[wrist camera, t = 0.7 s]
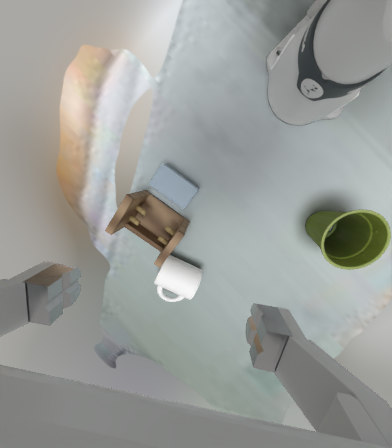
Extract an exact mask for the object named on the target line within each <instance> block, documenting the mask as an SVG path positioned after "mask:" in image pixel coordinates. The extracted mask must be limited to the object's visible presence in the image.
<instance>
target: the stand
mask: <svg viewBox="0 0 392 448" xmlns="http://www.w3.org/2000/svg"><path fill="white" fill-rule="evenodd" d="M189 222H190V221H188V220H187V219H185V218H184V217H183V216H181V215H180V214H178V213H177V212H176V211H174V210H173V209H171V208H170V207H169V206H167V205H166V204H164V203H163V202H162V201H160V200H159V199H157V198H156V197H155V196H153V195H152V194H150V193H149V192H148V191H146V190H145V191H140V192H136V193H132V194H127V195H126V196H125V198H124V200H123V201H122V203H121V205H120V206H119V208H118V210H117V211H116V213H115V215H114V216H113V218H112V220H111V221H110V223H109V225H108V226H107V228H106V230H105V231H106V232H108V233H109V234H111V235H112V234H113V233H115V232H117V231H118V230H120V229H122V228H123V227H125V228H127V229H128V230H130V231H131V232H133V233H134V234H136V235H137V236H139V237H140V238H142V239H143V240H144V241H146V242H147V243H149V244H150V245H152V246H153V247H155V248H156V249H158V250H159V251H161V253H160V255H159V256H158V258H157V259H156V261H155V263H154V264H155V265H157V266H158V267H161V265H162V264H163V263H164V261H165V260H166V259H167V257H168V256H169V255H170V253H171V252H172V251H173V249H174V248H175V247H176V245H177V244H178V243H179V241H180V240H181V239H182V237H183V236H184V234H185V232H186V229H187V227H188V225H189Z"/></svg>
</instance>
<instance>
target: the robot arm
mask: <svg viewBox="0 0 392 448" xmlns="http://www.w3.org/2000/svg"><path fill="white" fill-rule="evenodd" d="M276 53H279V54H280V55H277V54H276ZM266 65H267V69H268V73H269V82H268V100H269V103H270V106H271V108H272V110H273V112H274V113H275V115H276V116H277V117H278V118H279V119H281V120H282V121H284V122H286V123H288V124H292V125H305V124H309V123H312V122H314V121H316V120H320V119H334V118H336V117H337V116H339V115H340V113H341V112H342V110H343V109H344V107H345V105H346V104H348V103H349V102H351V101H352V100H354V99H355V98H357V97H358V96H359V94H360V93H359V92H360V91H361V89H362V88H363V86H365V85H367V84H368V83H369V82H371V81H372V80H373V79H375V78H376V77H377V76H378V75H380V74H381V73H382V72H383V71H384V70H385V69H386V68H387V67H389V66H390V65H392V0H315V2H314V3H313V4H312V5H311V7H310V8H309V10H308V11H307V15H306V16H305V17H304V18H303V19H302V20H301V21H300V22H299V23H298V24H297V25H296V26H295V27H294V28H293V29H292V30H291V31H290V32H289V34H288V35H287V36H286V37H285V38H284V39H283V40H282V41H281V42H280V43H279V44H278V45H277V46H276V47H275V48H274V49H273V50H272V51H271V52H270V54H269V55H268V57H267V59H266ZM80 277H81V271H80V270H79V268H75V267H71V266H66V265H62V264H57V263H53V262H42V263H40V264H38V265H36V266H34V267H32V268H30V269H28V270H26V271H25V272H23V273H21V274H19V275H17V276H15V277H13V278H11V279H9V280H8V279H2V280H0V337H1V336H3V335H5V334H7V333H9V332H11V331H13V330H15V329H17V328H19V327H21V326H24V325H26V324H28V322H32V323H38V324H43V325H51V324H52V323H53V322H54V321H55V320H56V319H57V318H58V317H59V316H60V315H62V313H63V309H64V308H67V307H69V306H71V305H72V304H73V303H74V302H75V301H76V299H77V298H78V296H79V294H80V290H81V285H80V283H79V282H78V279H79V278H80ZM250 311H251V314H252V316H251V317H249V318H248V320H247V323H246V338H247V342H248V343H249V344H250V346H251V348H250V351H249V352H250V356H251V360H252V364H253V368H258V369H262V370H266V371H270V372H274V373H275V375H276V376H277V378H278V379H279V381H280V382H281V383H282V385H283V386H284V387H285V389H286V390H287V392H288V393H289V394H290V396H291V397H292V398H293V400H294V401H295V402H296V404H297V405H298V406H299V408H300V409H301V411H302V412H303V413H304V415H305V416H306V418H307V419H308V420H309V422H310V423H311V424H312V426H313V427H314V429H315V430H316V432H315V431H310V430H306V429H301V428H296V427H291V426H287V425H282V424H277V423H273V422H268V421H263V420H258V419H254V418H249V417H244V416H240V415H235V414H230V413H225V412H221V411H216V410H211V409H206V408H201V407H197V406H192V405H187V404H183V403H178V402H173V401H168V400H164V399H159V398H154V397H149V396H145V395H140V394H135V393H130V392H125V391H121V390H116V389H112V388H107V387H102V386H98V385H92V384H88V383H83V382H79V381H74V380H69V379H64V378H60V377H55V376H50V375H46V374H41V373H36V372H31V371H26V370H22V369H17V368H12V367H8V366H3V365H0V448H392V408H391V407H390V406H389V404H388V403H387V402H386V401H385V400H384V399H383V398H381V397H380V396H379V395H378V394H376V393H375V392H374V391H373V390H372V389H370V388H369V387H368V386H366V385H365V384H364V383H363V382H361V381H360V380H359V379H358V378H357V377H355V376H354V375H353V374H352V373H350V372H349V371H348V370H347V369H346V368H344V367H343V366H342V365H341V364H339V363H338V362H337V361H336V360H334V359H333V358H332V357H331V356H329V355H328V354H327V353H326V352H324V351H323V350H322V349H321V348H320V347H318V346H317V345H316V344H315V343H313V342H312V341H311V340H307V339H306V337H305V336H304V334H303V332H302V331H301V329H300V327H299V326H298V324H297V322H296V321H295V319H294V318H293V316H292V314H291V313H290V311H289V310H288V309H285V308H279V307H272V306H266V305H261V304H255V303H253V305H252V307H251V310H250Z"/></svg>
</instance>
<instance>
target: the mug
mask: <svg viewBox="0 0 392 448" xmlns="http://www.w3.org/2000/svg"><path fill="white" fill-rule="evenodd" d="M202 274H203V271H202V270H201V269H199V268H197V267H195V266H193V265H191V264H188V263H186V262H184V261H182V260H180V259H178V258H176V257H173V256H171V255H169V256H168V257H167V259H166V260H165V261H164V263H163V265H162V267H161V269H160V271H159V273H158V275H157V277H156V279H155V282H154V284H156V285H158V286H157V292H158V294H159V296H160V297H161V298H162V299H164V300H166V301H169V302H177V301H180V300H182V299H183V298H184V297H185V298H187V299H189V300H190V299H192V298H193V296H194V295H195V293H196V291H197V289H198V287H199V284H200V281H201V278H202ZM163 288H165V289H167V290H169V291H171V292H174V293H176V294H178V295H179V296H177V297H169V296H167V295H165V294H163Z"/></svg>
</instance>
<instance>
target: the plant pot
mask: <svg viewBox="0 0 392 448" xmlns="http://www.w3.org/2000/svg"><path fill="white" fill-rule="evenodd" d="M331 226H333V229H332V230H331V231H329V230H330V228H331ZM306 231H307V233H308V235H309V236H310V237H311V238H312V239H313V240H314V241H315V242H316V244H317V245H318V246H319V247H320V249H321V251H322V254H323V256H324V257H325V259H326V260H327V261H328V262H329V263H330V264H332V265H333V266H335V267H338V268H341V269H348V270H350V269H358V268H362V267H365V266H368V265H370V264H371V263H373V262H374V261H376V260H377V259H378V258H380V257H381V255H382V254H383V253H384V252H385V250H386V249H387V247H388V245H389V242H390V238H391V231H390V227H389V224H388V222H387V221H386V219H385V218H384V217H383V216H381V215H380V214H378V213H376V212H374V211H370V210H354V211H350V212H335V211H319V212H317V213H314V214H312V215H311V216H310V217H309V218H308V220H307V222H306Z"/></svg>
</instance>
